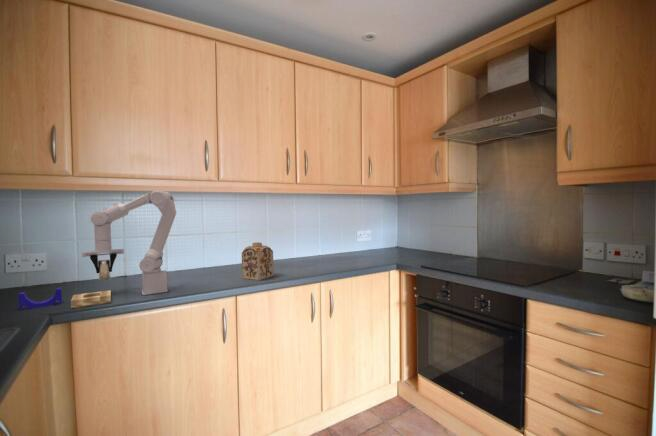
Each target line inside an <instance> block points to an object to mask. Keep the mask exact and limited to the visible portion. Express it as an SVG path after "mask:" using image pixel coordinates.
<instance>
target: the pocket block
mask: <svg viewBox="0 0 656 436" xmlns="http://www.w3.org/2000/svg"><path fill="white" fill-rule="evenodd" d="M111 293H112V291H111V289H110V290H109V289H108V290H100V291H95V292H85V293H79V294H73V295H72V298H71V300H70V307H71V308H70V309H71V310H73V309H72V308H74V309H80V308H81V309H82V308H89V307H94V306H101V305H106V304H107V305H108V304H111V303H112V296H111V295H112V294H111Z"/></svg>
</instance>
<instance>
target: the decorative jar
mask: <svg viewBox="0 0 656 436" xmlns="http://www.w3.org/2000/svg"><path fill="white" fill-rule="evenodd" d="M274 268H275V267H274V251H273V249H271V247H270V246H268V245H263V243H262V242H259V241H258V242H255V241H254V242H252V245H249V246H246V247H245V248H244V249H243V250H242V252H241V277H242V279H244V280H249V279H250V281H252V280H253V281H263V280H265V279H268V278H273V277H274V275H275V274H274V271H275V270H274Z"/></svg>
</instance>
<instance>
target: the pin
mask: <svg viewBox="0 0 656 436" xmlns="http://www.w3.org/2000/svg"><path fill="white" fill-rule="evenodd" d="M98 269H99V273H98V281H107V280H111V272H110V259H101V260H100V259H98Z"/></svg>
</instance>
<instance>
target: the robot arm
mask: <svg viewBox="0 0 656 436" xmlns="http://www.w3.org/2000/svg"><path fill="white" fill-rule="evenodd" d="M148 204H149V205H150V204H151V205H154V206H155V207H157V209H158V211H159V212H160V213H161V215H160V216H161V217H160V219H159V222H158V225H157V226H156V230H155V233H154V236H153V239H152V241H151V244H150V246H149V249H148V250H147V251H146V253H145V254H144V257H143V258H142V259H141V260H140V261H139V265H138V266H139V269H140V270H141V274H142V277H141V278H142V290H141V294H142V296H146V295H153V294H160V293H168V273H167V270H162V268H161V267H162V265H163V256H164V248H165V246H166V243H167V239H168V237H169V235H170V232H171V228H172V226H173V224H174V220H175V218H176V215H177V210H176V205H175V198H174V196H173V195H172V193H170V192H169V191H166V190H160V189H159V190H158V189H156V190H153V191H152V192H151V191H150V192H147V193H144V194H143V195H140V196H139V197H137V198H134V199H133V200H130V201H129V202H127V203H123V202H116V203H113V205H112V206H110V207H108V208H106V207H105V208H103V209H102V211H95V212H94V213H92V214H91V216H90V221H91V223H92V224H93V227H94V229H93V230H94V233H93V235H94V250H89V251H87V250H86V251H81V257H82V258H85V257H89V259H90V260H91V262H92V263H93V265H94V268H95V273H96V274H99V269H98V261H99V257H98V256H109V260H110V273H111V272H113V267H114V264H115V261H116V260H117V259H116V258H117V257H118V255H123V254H125V249H124V248H120V249H119V248H117V249H115V248H114V249H113V248H112V234H111V233H112V231H111V230H112V229H111V228H112V227H111V225H112V223H113V222H115V221H117V220H120V219H122V218H124V217H125V216H128V214H129V213H130V211H133V210H134V209H135V210H136V209H137V208H140V207H142V206H144V205H148Z"/></svg>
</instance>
